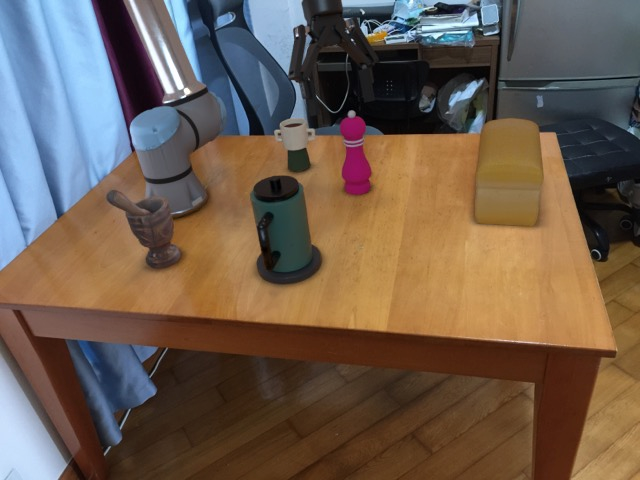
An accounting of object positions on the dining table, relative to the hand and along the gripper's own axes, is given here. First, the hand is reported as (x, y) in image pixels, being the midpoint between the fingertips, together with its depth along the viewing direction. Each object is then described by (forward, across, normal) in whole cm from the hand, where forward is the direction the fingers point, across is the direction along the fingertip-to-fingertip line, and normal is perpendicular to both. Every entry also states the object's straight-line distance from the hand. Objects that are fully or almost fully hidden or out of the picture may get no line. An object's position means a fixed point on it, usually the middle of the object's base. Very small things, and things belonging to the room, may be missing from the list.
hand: (343, 108), depth 108 cm
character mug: (+14, +9, +38) cm, 41 cm away
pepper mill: (+20, +12, +18) cm, 30 cm away
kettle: (+26, -18, +4) cm, 32 cm away
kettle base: (+28, -18, +4) cm, 33 cm away
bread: (+27, +32, -9) cm, 43 cm away
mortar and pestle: (+23, -38, +24) cm, 50 cm away
